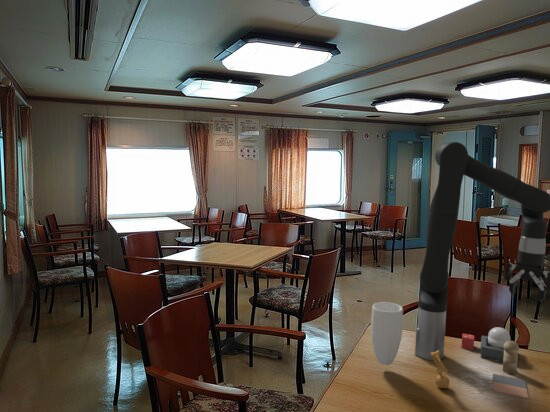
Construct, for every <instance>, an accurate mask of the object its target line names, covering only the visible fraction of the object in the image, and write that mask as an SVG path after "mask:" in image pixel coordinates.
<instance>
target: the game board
mask: <svg viewBox="0 0 550 412" xmlns="http://www.w3.org/2000/svg"><path fill="white" fill-rule="evenodd" d="M492 385H493V386H492V387H493V392H498V393H501V394H505V395H506V394H507V395H509V396H514V397H519V398H523V399H526V400H529V394H528V389H527V384H526V380H524V379H521V378H520V379H519V378H515V377H510V376H505V375H500V374H497V373H496V374H495V373H492Z"/></svg>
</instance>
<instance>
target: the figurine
mask: <svg viewBox="0 0 550 412" xmlns="http://www.w3.org/2000/svg"><path fill="white" fill-rule="evenodd" d="M440 353H441V352H440V350H438V351H436V352H431V353H430V355H431V358H432V359H433V360H432V361H433V362H434V364H435V366H437V368H436V370H437V371H436V372H437V375H436V377H435V381H434V382H435V384H436V386H437V387H438V388H440V389H446V388H448V387H449V385H450V379H449V377H448V376H446V374H443V373H444V371H445V373H448V369H447V368H446V366H445V365H444V364H443V362H442V361H441V360H442V359H441V360H440V356H439V355H440Z"/></svg>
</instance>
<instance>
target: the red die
mask: <svg viewBox="0 0 550 412" xmlns="http://www.w3.org/2000/svg"><path fill="white" fill-rule="evenodd" d="M461 335H462V336H461V346H460V347H461V348H462V349H467V350H471V351H474V348H475V347H474V346H475V344H474V343H475V335H473V334H469V333H468V334H467V333H462V334H461Z"/></svg>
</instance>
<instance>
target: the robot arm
mask: <svg viewBox="0 0 550 412" xmlns="http://www.w3.org/2000/svg"><path fill="white" fill-rule="evenodd" d="M434 159H435V162H436V164H437V165H438V166H439V169H438V171H439V172H438V179H437V180H438V181H437V185H436V188H435V190H434V193H433V196H432V199H431V201H430V206H429V210H428V218H427V224H426V225H427V227H426V248H425V250H426V251H425V256H424V259H423V264H422V269H421V270H420V274H419V282H420V285H419V287H420V288H419V295H418V296H419V297H418V308H417V309H418V311H417V327H416V329H415V331H416V332H415V347H414V355H415V356H418V357H420V358H422V359H424V360H430V361H434V360H433V359H432V358H431V355H430V353H431V352H436V351H438V350H440V352H441V353H440V355H439V356H440V360H442V359H444V355H445V354H444V352H445V350H444V349H445V336H446V335H445V334H446V320H447V307H448V291H449V277H450V275H449V259H450V258H449V257H450V253H451V252H450V251H451V248H452V245H453V242H454V238H455V235H456V231H457V230H456V229H457V225H458V218H459V217H458V216H459V211H460V210H459V209H460V202H461V201H460V200H461V192H462V191H461V189H462V182H463V180H464V176H465V177H468V178H470V179H472V180H474V181H476V182H478V183H479V184H481V185H482V186H485V187H486V188H487V189H489V190H491V191H493V192H495V193H497V194H499V195H501V196H503V197H505V198H507V199H509V200H511V201H514V202H517V203H519V204H520V209H521V211H520V212H521V219H522V226H521V235H520V239H519V243H518V253H517V261H516V264H515V263H514V264H513V262H509V263H506V265H505V271H504V276H503V277H504V278H503V279H504V281H507V282H509V286H508V287H509V288H508V291H509V293H510V294H511V295H515V293H516V290H517V289H516V288H517V281H518V280H520V279H522V280H526V281H529V282H535V284H536V285H537V286H538V289H539V291H538V298H537V301H538V302H542V301H544V300H545V299H546V293H547V291H550V271H549V270H545V269H544V262H545V256H546V246H547V245H546V244H547V243H546V242H547V241H546V239H547V232H548V231H547V230H548V224H547V222H546V221H545V219H544V214H546V213H548V212H550V193H549V192H547V191H545V190H543V189H541V188H538V187H535V186H533V185H531V184H528V183H526V182H524V181H522V180H521V179H519V178H517V177H515V176H513V175H512V174H510V173H508V172H505V171H503V170H501V169H500V168H496V167H494V166H491V165H488V164H486V163H483V162H482V161H479V160H477V159H475V158H474V157H472V156H471V155H469V152H468V149H467V147H466V146H465V145H464V144H463V143H461V142H457V141H451V142H450V141H449V142H446V143H443V144H441V145H440V146H438V148H436V150H435V154H434ZM514 269H515V270H516V272H517V273H516V274H515V275H514V276H513V277H512V272H513V270H514ZM543 275H544V276H545V278H546V284H545V282H544V280H543V278H542V276H543Z"/></svg>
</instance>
